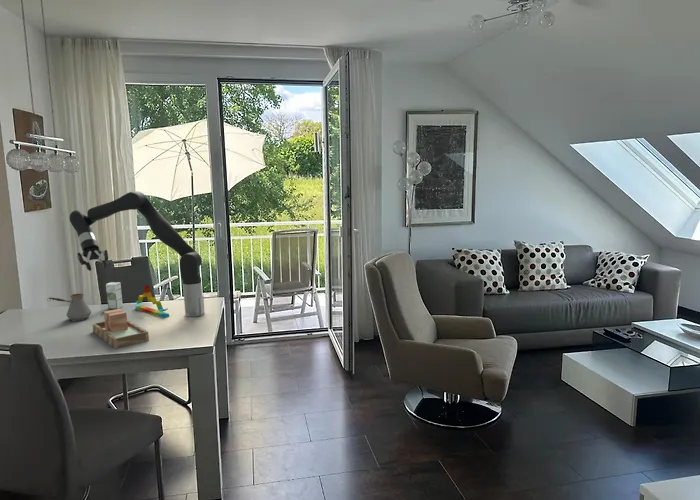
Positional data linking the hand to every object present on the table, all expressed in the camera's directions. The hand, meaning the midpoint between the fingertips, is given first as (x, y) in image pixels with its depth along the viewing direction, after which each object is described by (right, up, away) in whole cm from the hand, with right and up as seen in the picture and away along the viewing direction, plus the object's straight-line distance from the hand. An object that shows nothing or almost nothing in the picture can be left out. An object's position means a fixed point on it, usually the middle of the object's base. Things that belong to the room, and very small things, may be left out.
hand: (97, 268), depth 243 cm
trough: (+18, -31, -15) cm, 39 cm away
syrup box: (-8, -24, +37) cm, 44 cm away
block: (+15, -28, -12) cm, 34 cm away
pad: (+22, -31, -19) cm, 42 cm away
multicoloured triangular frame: (+17, -25, +25) cm, 39 cm away
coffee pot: (-20, -28, +11) cm, 36 cm away
